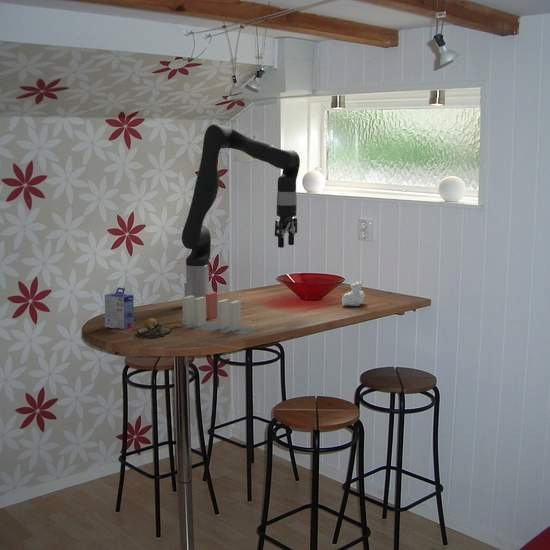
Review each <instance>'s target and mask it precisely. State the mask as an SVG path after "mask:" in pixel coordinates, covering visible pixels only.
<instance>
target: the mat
mask: <svg viewBox="0 0 550 550" xmlns="http://www.w3.org/2000/svg"><path fill="white" fill-rule="evenodd" d="M176 327H179V328H180V327H182V328H189V329H196V330H204V331H211V332H219V333H227V334H234V335H242V336H245V335H247V334H250V333H253V332H255V331H258V330H261V328H260V327H251V326H245V325H241V328H240V329H238V330H235V331H229V327H227V328H225V329H222V330H221V329H217V322H213V321H212V322H211V321H206V324H204V325H202V326H199V327H197V326H194V323H192V324H189V325H183V323H180V324H177V325H176Z"/></svg>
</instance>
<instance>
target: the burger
mask: <svg viewBox="0 0 550 550" xmlns="http://www.w3.org/2000/svg"><path fill="white" fill-rule="evenodd" d="M157 321H158V320H157V319H156V318H155V317H154V318H153V317H150V318H147V319H146V320H145V322H144V327H141V328H138V329H137V332H136V333H137V334H136V335H137V336H138V337H139V336H143V337H142V338H144V337H147V338H146V339H151V338H150V337H160V338H165V336H166V335H169V334H170V332H171V331H172V329H171V328H170V327H168V326H162V324H161V323H157ZM163 330H164V331H165V332H161V331H163ZM145 331H147V333H144V332H145Z"/></svg>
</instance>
